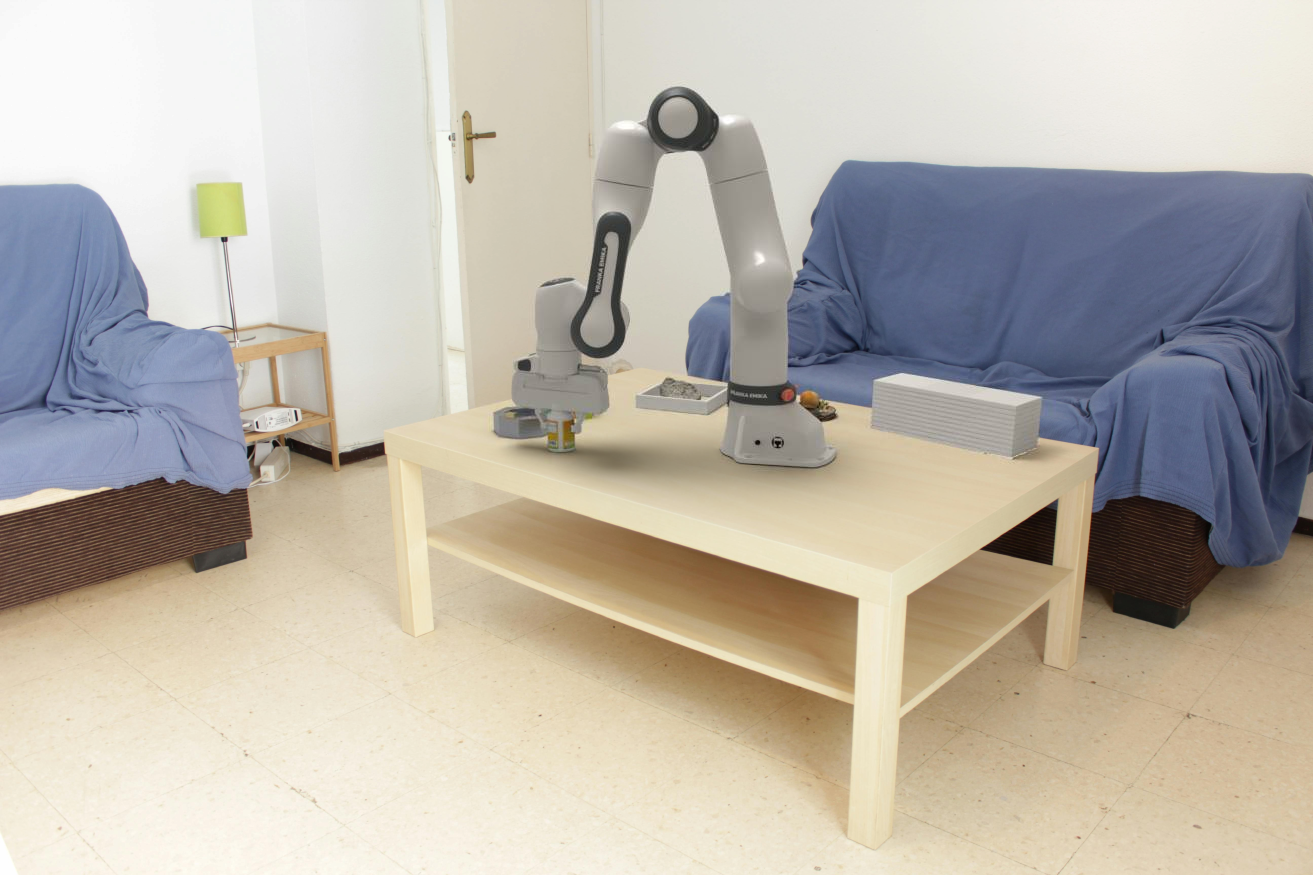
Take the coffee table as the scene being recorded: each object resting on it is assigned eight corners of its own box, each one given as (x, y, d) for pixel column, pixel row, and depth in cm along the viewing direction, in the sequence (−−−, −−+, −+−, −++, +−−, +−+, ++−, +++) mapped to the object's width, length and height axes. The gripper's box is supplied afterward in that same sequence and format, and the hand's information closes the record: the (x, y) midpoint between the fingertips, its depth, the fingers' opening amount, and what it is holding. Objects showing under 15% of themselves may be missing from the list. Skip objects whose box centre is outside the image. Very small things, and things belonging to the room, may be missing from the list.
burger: (842, 413, 228) (843, 381, 226) (827, 425, 218) (828, 391, 216) (792, 408, 233) (793, 376, 231) (774, 419, 223) (775, 386, 221)
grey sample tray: (732, 398, 242) (733, 386, 241) (706, 414, 226) (707, 401, 225) (665, 391, 248) (665, 379, 247) (635, 407, 233) (635, 394, 232)
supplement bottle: (575, 445, 202) (574, 398, 200) (574, 452, 197) (573, 404, 194) (548, 445, 202) (547, 398, 199) (546, 453, 197) (545, 404, 194)
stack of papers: (1036, 449, 200) (1042, 397, 197) (1010, 460, 193) (1016, 406, 190) (898, 420, 222) (901, 372, 219) (870, 429, 215) (873, 380, 212)
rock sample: (657, 394, 228) (670, 363, 233) (648, 409, 235) (661, 379, 240) (699, 414, 229) (712, 383, 234) (689, 429, 236) (701, 398, 240)
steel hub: (561, 427, 216) (560, 404, 214) (533, 440, 205) (533, 416, 204) (514, 421, 220) (513, 399, 219) (485, 434, 210) (484, 411, 209)
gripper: (614, 363, 194) (615, 432, 197) (522, 355, 202) (525, 422, 205) (599, 369, 188) (601, 440, 192) (506, 361, 196) (508, 429, 200)
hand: (561, 431), depth 199 cm, fingers closed on supplement bottle, 5 cm apart
